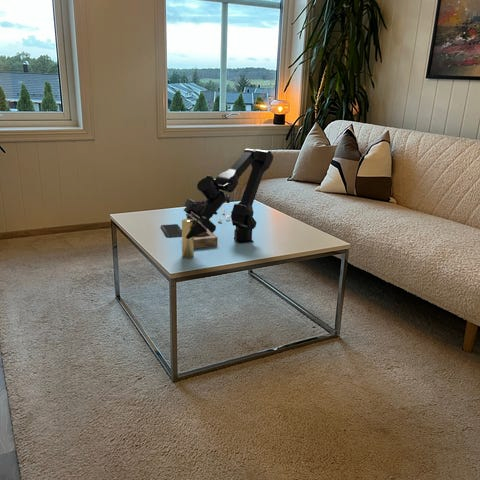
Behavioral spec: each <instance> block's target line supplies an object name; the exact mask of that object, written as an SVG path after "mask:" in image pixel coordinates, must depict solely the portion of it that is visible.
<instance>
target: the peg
mask: <svg viewBox="0 0 480 480" xmlns="http://www.w3.org/2000/svg"><path fill="white" fill-rule="evenodd" d="M193 226H194V220H193V219H187V218H183V219H182V220H181V229H182V237H181V243H182V244H181V252H182V253H181V257H182V258H183V259H192V258H194V257H195V253H194V252H195V248H194V237H192V238H189V239H187V238H186V236H187V234H188V233H189V231H190V230H191V229H192V227H193Z"/></svg>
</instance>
